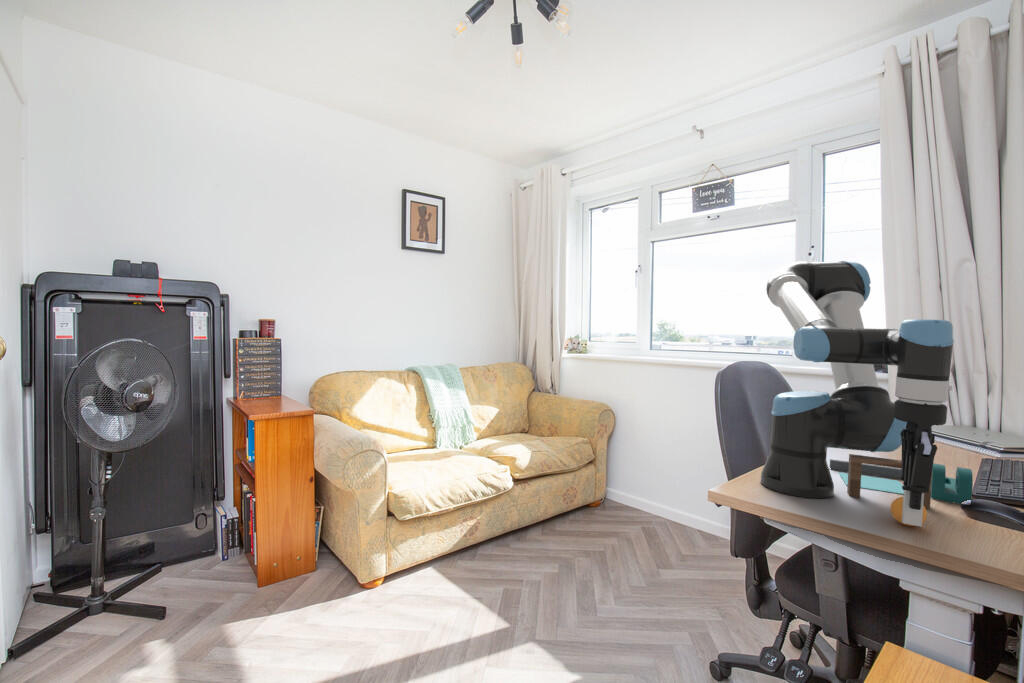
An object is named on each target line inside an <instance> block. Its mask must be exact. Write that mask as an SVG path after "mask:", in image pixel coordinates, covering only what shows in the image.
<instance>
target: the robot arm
mask: <svg viewBox="0 0 1024 683" xmlns="http://www.w3.org/2000/svg"><path fill="white" fill-rule="evenodd" d="M870 286H871V277H870V273H869V272H868V270H867V268H866V267H865V266H864V265H863V264H861V263H859V262H856V261H855V262H853V261H845V260H841V261H836V262H835V261H794V262H791V263H788V264H785V265H782V266H780V267H779V268H777V270H775V271H774V273H772V275H771V276H770V278H769V279H768V281H767V283H766V289H765V290H766V295H767V297H768V299H769V301H770V302H771V303H772V305H774V306H776V307H777V308H780V310H781V312H782V313H783V314H784V316H785V318H786V319H787V321H788V323H789V324H790V325H791V327H792V328H793V330H794V332H795V333H794V336H793V343H792V344H793V345H792V346H793V347H792V348H793V351H794V352H793V353H794V355H795V357H796V358H797V359H798V360H800V361H804V362H805V361H807V362H813V363H830V366H831V372H832V377H833V382H834V388H835V390H834V391H833V392H832V393H831V395H830V393H829V392H827V391H826V392H825V391H818V390H813V391H811V390H800V391H799V390H797V391H795V390H794V391H785V392H781V393H778V394H776V396H775V397H774V398H773V402H772V408H771V412H770V413H771V426H770V427H771V428H770V432H771V433H770V449H769V450H770V451H769V454H768V456H767V459H766V461H765V463H764V466H763V467H762V470H761V473H760V474H761V475H760V483H761V484H762V485H763V486H764V487H766V488H768V489H770V490H774V491H776V492H779V493H782V494H786V495H791V496H794V497H795V496H796V497H801V498H807V499H808V498H811V499H827V498H832V497H833V496H834V492H835V485H834V482H833V478H832V475H831V471H830V468H829V466H828V462H827V457H828V456H827V454H828V453H827V451H828V449H829V448H831V449H842V450H852V451H853V450H854V451H863V452H871V453H877V452H878V453H880V452H881V453H891V452H895V451H897V450H898V449H900V447H901V460H902V468H901V479H900V480H901V481H902V485H903V486H902V489H903V490H904V495H903V494H902V495H903V496H902V497H903V508H902V522H903V523H904V524H910V525H915V526H914V527H921V528H922V527H923V523H922V516H923V502H924V493H925V492H926V493H928V492H929V486H930V480H931V474H932V468H933V463H935V462H934V461H935V456H936V453H937V450H938V446H937V445H936V444H935V441H936V439H935V437H936V436H935V434H934V433H933V429H932V427H933V426H944V425H946V423H947V417H948V406H947V405H946V404H944V403H946V402H948V398H949V391H953V386H952V385H950V375H951V368H952V367H951V366H952V356H953V346H954V342H955V341H954V337H953V331H954V328H953V327H954V326H953V324H952V322H951V321H949V320H946V319H925V318H924V319H922V318H921V319H919V318H918V319H915V318H914V319H913V318H911V319H904V320H902V322H901V324H900V326H899V329H898V328H865V327H864V323H863V318H862V315H861V314H862V313H861V310H860V309H861V308H863V306H864V304H865V302H866V301H867V300H868V298H869V296H870V293H871V287H870ZM875 365H877V366H893V367H897V368H896V369H897V371H896V377H895V378H896V379H895V392H894V396H895V397H896V398H898V399H896V400H895V401H891V398H890V393H889V390H888V389H886V388H885V387H882V386H880V385H879V382H878V379H877V374H876V370H875ZM904 524H903V525H904Z"/></svg>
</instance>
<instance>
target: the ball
mask: <svg viewBox="0 0 1024 683" xmlns="http://www.w3.org/2000/svg"><path fill="white" fill-rule="evenodd" d="M902 508H903V496H900V497H897V498H894V500H893V501H892V503H890V513H891V515H892V517H893V518H894V519H895V520H896V521H897V522H899V523H900V524H901V525H904V526H908V527H916V526H915V525H910V524H904V523H903V522H902ZM927 511H928V510H927V508H925V507H924V506H923V516H922V524H923V523H925V522H926V520H927V517H928V512H927Z"/></svg>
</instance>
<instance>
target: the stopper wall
mask: <svg viewBox="0 0 1024 683" xmlns="http://www.w3.org/2000/svg"><path fill="white" fill-rule="evenodd" d="M829 467H830V468H831V469H830V468H829V469H830V470H833V469H837V470H836V471H840V470H843V471H842V472H847V471H848V468H849V460H848V461H847V460H840V459H832V458H830V459H829ZM861 475H869V476H874V477H875V476H876V477H882V478H883V477H884V478H889V479H897V480H898V479H899V480H901V468H895V467H887V466H879V465H872V464H864V463H862V470H861Z"/></svg>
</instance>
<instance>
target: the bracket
mask: <svg viewBox="0 0 1024 683" xmlns="http://www.w3.org/2000/svg"><path fill="white" fill-rule="evenodd" d="M973 478H974V477H973V470H972V468H967V467H966V468H965V467H961V466H959V467H958V466H957V467H956V471H955V478H953V477H950V476H949V477H948V476H946V464H940V463H935V462H933V468H932V483H931V498H933V499H932V500H936V499H938V500H937V501H941V500H943V501H942V502H946V501H948V502H947V503H952V502H955V503H954V504H957V503H959V505H962V504H961V503H962V502H964V501H967V500H972V501H973V499H972V498H973V481H974V480H973Z"/></svg>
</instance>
